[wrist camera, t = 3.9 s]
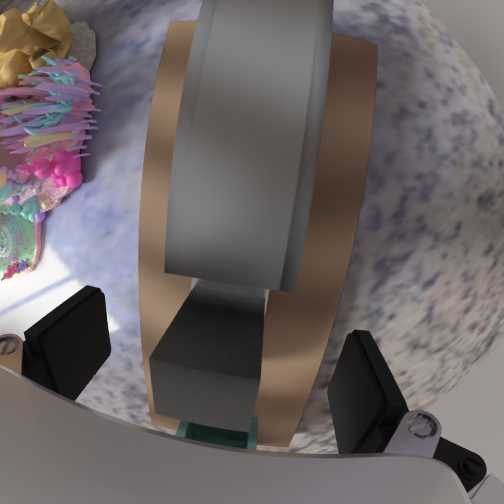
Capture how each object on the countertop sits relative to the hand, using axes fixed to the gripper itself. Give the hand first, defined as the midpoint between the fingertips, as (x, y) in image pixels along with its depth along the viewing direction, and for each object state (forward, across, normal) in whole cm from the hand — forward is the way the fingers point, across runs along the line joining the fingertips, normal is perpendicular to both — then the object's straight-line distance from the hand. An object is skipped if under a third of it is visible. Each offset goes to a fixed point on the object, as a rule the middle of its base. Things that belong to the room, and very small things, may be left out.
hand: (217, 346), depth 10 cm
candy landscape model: (+8, +22, -8) cm, 25 cm away
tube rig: (+8, 0, 0) cm, 8 cm away
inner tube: (+5, 0, -4) cm, 7 cm away
